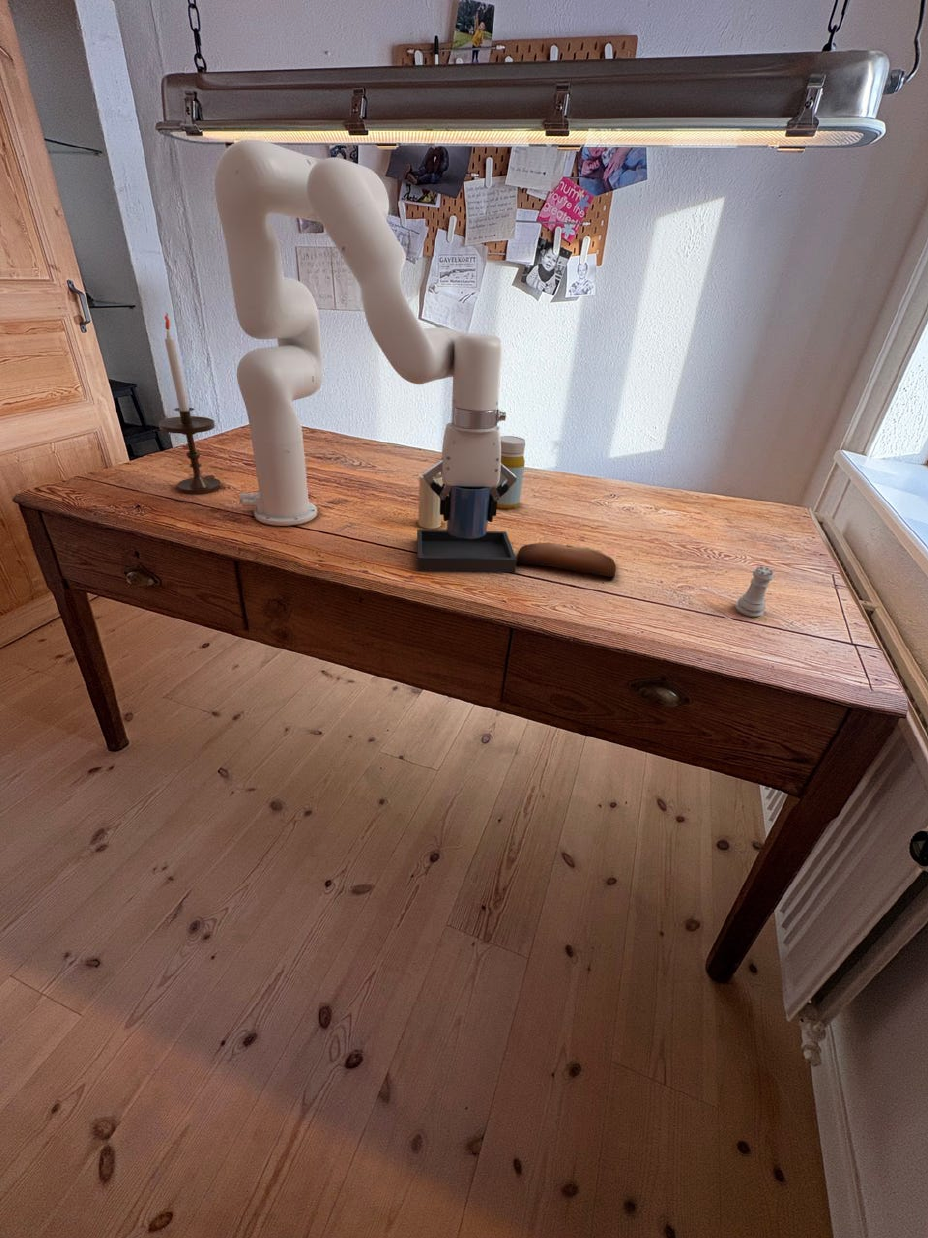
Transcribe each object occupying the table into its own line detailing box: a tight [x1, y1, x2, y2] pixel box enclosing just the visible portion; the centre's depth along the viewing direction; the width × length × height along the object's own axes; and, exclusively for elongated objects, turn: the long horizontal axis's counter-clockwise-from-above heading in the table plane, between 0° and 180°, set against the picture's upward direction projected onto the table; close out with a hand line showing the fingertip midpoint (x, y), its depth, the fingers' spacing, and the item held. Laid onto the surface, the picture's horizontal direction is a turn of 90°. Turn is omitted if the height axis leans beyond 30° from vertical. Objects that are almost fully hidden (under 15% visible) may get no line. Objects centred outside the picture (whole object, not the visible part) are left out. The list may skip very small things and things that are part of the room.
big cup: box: [446, 486, 490, 539], centre depth 98 cm, size 7×7×9 cm
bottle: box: [495, 435, 526, 510], centre depth 124 cm, size 7×7×15 cm
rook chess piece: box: [735, 565, 775, 618], centre depth 91 cm, size 4×4×8 cm
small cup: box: [417, 472, 443, 530], centre depth 113 cm, size 5×5×10 cm
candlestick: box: [158, 312, 222, 495], centre depth 115 cm, size 11×11×35 cm
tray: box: [416, 528, 517, 573], centre depth 103 cm, size 18×13×3 cm
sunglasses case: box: [516, 542, 617, 580], centre depth 102 cm, size 18×7×7 cm
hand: (467, 518), depth 99 cm, fingers closed on big cup, 7 cm apart
